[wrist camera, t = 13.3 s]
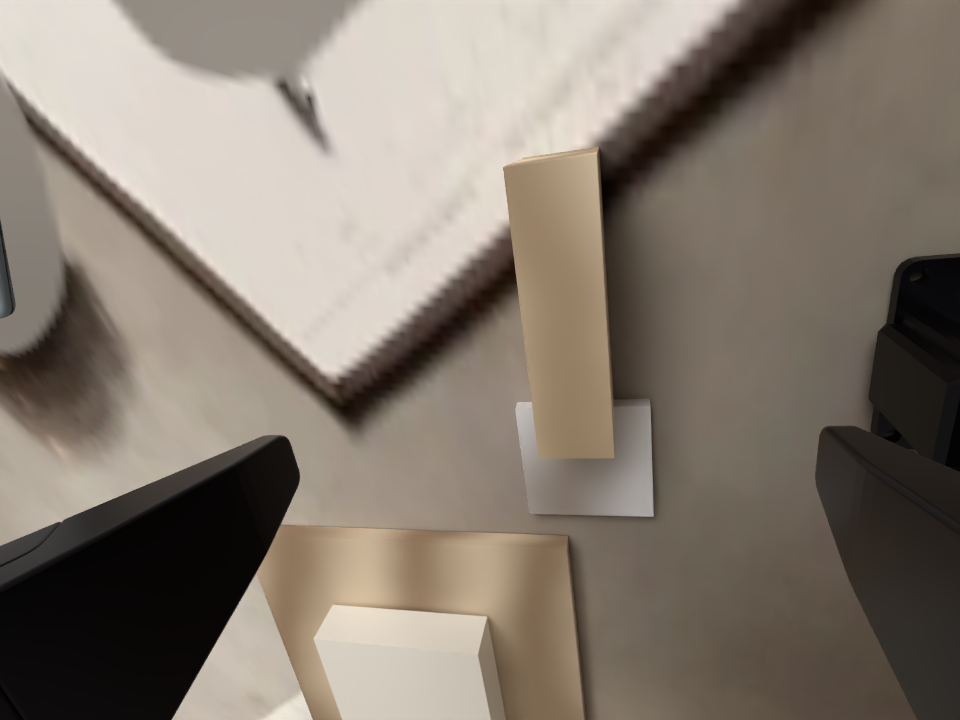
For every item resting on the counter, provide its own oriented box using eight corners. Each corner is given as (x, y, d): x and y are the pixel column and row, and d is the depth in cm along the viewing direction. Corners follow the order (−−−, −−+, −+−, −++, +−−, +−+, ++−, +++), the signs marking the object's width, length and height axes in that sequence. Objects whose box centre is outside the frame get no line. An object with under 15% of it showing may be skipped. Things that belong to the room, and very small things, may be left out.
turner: (641, 140, 17) (651, 146, 13) (652, 507, 22) (660, 582, 18) (485, 163, 18) (455, 173, 14) (531, 504, 23) (517, 574, 20)
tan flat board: (568, 535, 23) (566, 549, 23) (588, 744, 29) (588, 760, 28) (251, 524, 27) (241, 534, 27) (320, 708, 33) (314, 722, 32)
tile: (477, 654, 23) (501, 770, 26) (487, 614, 25) (508, 726, 28) (313, 638, 25) (352, 748, 28) (334, 602, 27) (368, 708, 30)
